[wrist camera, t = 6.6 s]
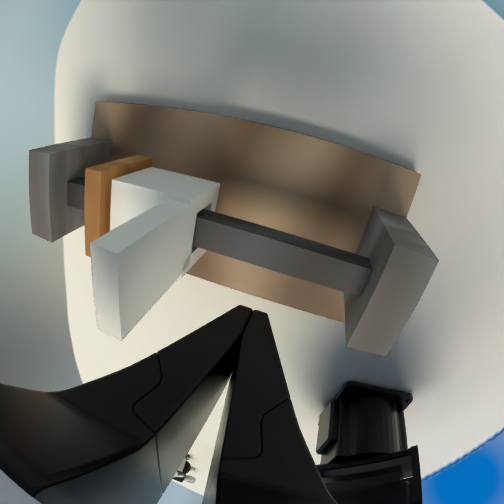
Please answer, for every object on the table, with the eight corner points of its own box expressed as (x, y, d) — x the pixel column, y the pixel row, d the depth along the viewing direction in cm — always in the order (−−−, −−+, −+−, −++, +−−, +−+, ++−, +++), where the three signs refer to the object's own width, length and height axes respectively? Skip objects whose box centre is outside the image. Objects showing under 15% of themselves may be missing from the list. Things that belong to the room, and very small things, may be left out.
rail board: (415, 171, 14) (465, 201, 8) (356, 317, 19) (362, 394, 13) (105, 101, 17) (29, 105, 11) (96, 232, 21) (35, 270, 15)
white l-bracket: (220, 183, 14) (118, 246, 7) (208, 248, 16) (122, 345, 9) (151, 166, 15) (28, 212, 8) (145, 228, 17) (41, 300, 9)
